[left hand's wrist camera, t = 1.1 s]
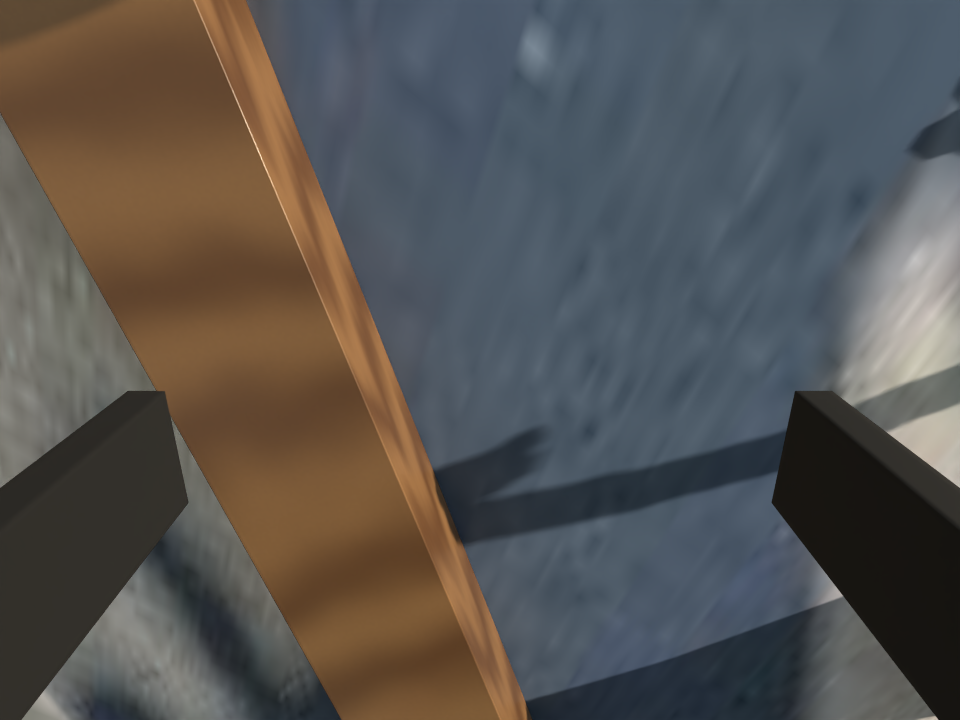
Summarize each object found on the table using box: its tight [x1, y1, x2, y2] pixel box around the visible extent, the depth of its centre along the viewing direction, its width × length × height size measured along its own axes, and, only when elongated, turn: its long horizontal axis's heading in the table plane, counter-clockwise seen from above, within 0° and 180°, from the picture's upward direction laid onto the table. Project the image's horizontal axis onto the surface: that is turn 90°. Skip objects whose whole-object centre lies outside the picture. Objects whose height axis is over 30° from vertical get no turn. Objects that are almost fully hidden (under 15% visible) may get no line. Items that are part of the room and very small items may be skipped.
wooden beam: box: [0, 0, 532, 720], centre depth 35 cm, size 71×9×7 cm, turn 17°
